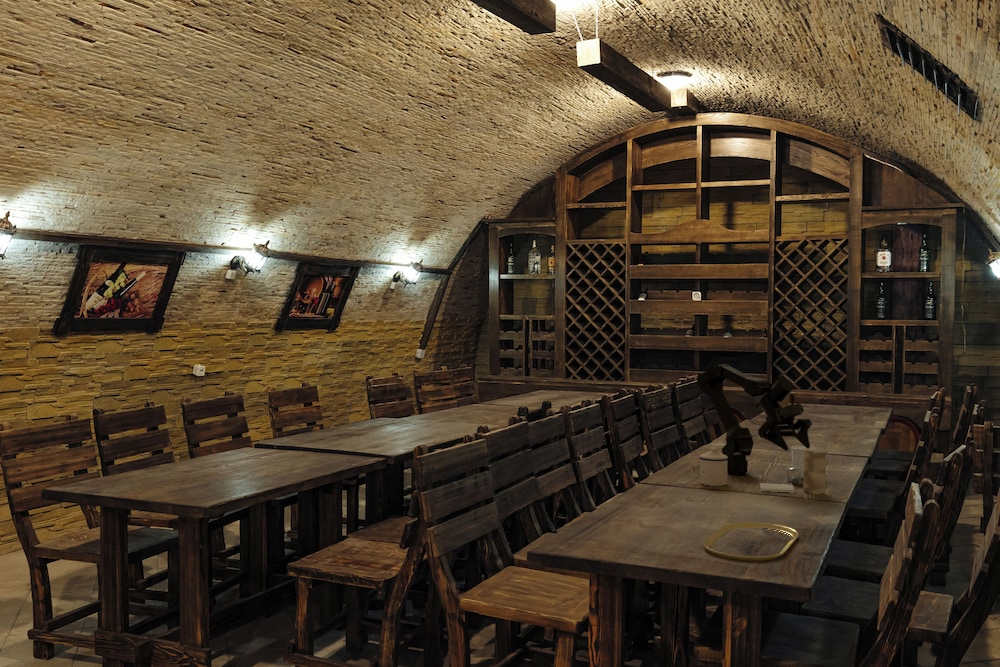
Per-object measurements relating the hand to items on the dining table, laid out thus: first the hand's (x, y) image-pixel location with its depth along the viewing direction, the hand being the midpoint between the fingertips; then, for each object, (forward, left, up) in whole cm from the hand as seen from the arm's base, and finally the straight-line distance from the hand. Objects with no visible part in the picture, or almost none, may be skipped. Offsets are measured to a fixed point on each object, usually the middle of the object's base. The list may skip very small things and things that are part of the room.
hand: (798, 449), depth 290 cm
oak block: (+4, -5, -13) cm, 14 cm away
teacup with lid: (-28, +1, -13) cm, 30 cm away
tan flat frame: (-17, -73, -13) cm, 76 cm away
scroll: (+3, +131, -13) cm, 131 cm away
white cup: (+3, +22, -13) cm, 25 cm away
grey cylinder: (-1, +9, -13) cm, 15 cm away
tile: (-7, -4, -13) cm, 15 cm away
